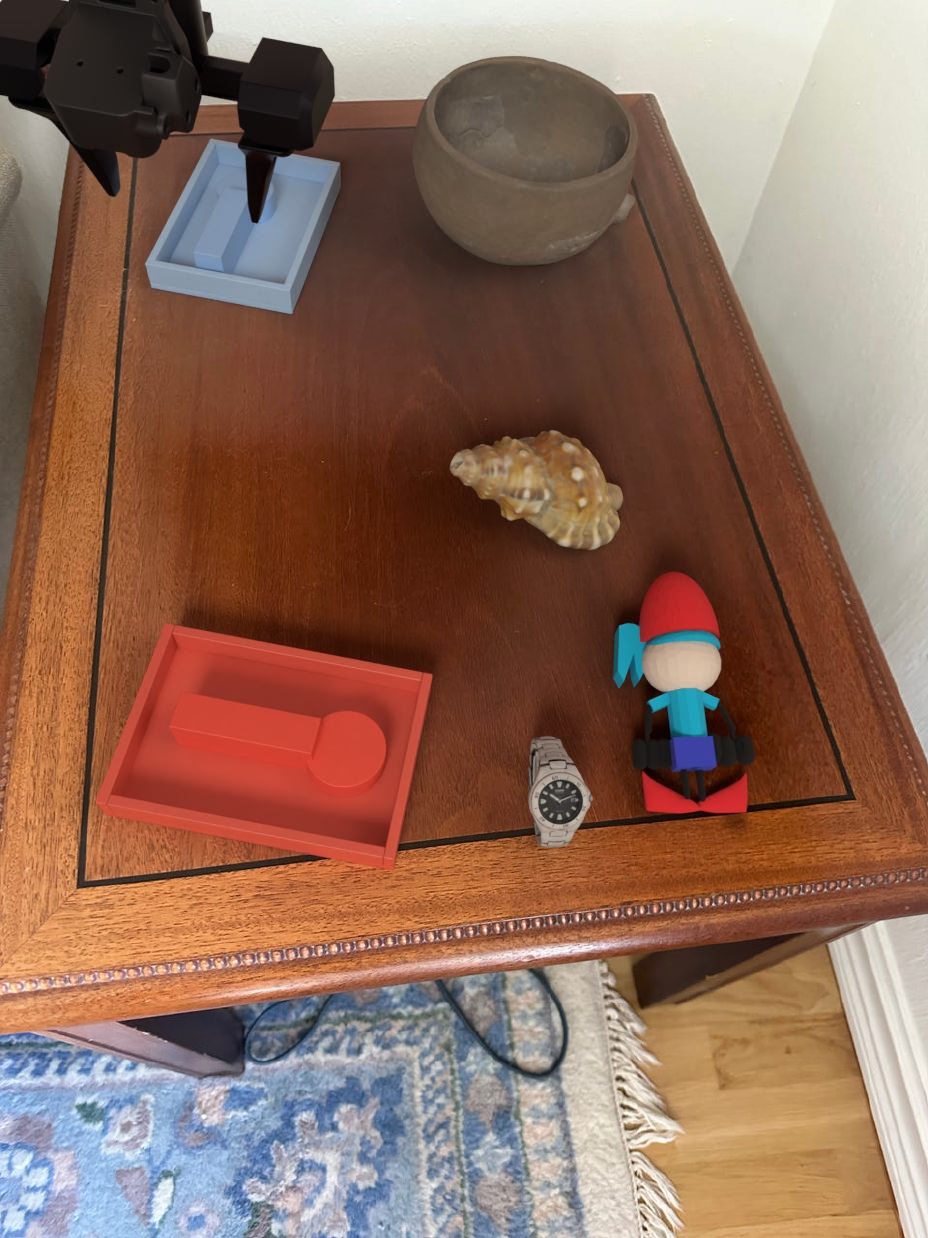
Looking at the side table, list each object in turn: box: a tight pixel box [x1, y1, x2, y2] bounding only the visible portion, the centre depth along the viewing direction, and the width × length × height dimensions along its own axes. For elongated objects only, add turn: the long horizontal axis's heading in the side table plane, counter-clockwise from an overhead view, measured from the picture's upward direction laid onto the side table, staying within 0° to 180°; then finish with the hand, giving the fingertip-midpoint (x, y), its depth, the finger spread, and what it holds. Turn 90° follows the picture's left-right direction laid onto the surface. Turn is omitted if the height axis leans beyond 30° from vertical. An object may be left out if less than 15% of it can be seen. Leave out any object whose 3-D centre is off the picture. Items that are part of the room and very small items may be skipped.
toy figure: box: [612, 571, 756, 814], centre depth 55 cm, size 8×5×15 cm
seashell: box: [449, 429, 624, 551], centre depth 60 cm, size 9×8×10 cm
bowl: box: [411, 55, 639, 267], centre depth 73 cm, size 17×18×10 cm
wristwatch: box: [527, 735, 594, 849], centre depth 50 cm, size 4×6×5 cm, turn 4°
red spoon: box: [169, 691, 386, 797], centre depth 51 cm, size 12×5×3 cm, turn 80°
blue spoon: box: [193, 171, 276, 275], centre depth 72 cm, size 12×5×3 cm, turn 170°
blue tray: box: [144, 138, 342, 315], centre depth 73 cm, size 16×11×2 cm
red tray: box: [95, 622, 434, 871], centre depth 52 cm, size 16×11×2 cm
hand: (186, 205), depth 57 cm, fingers open, 9 cm apart
